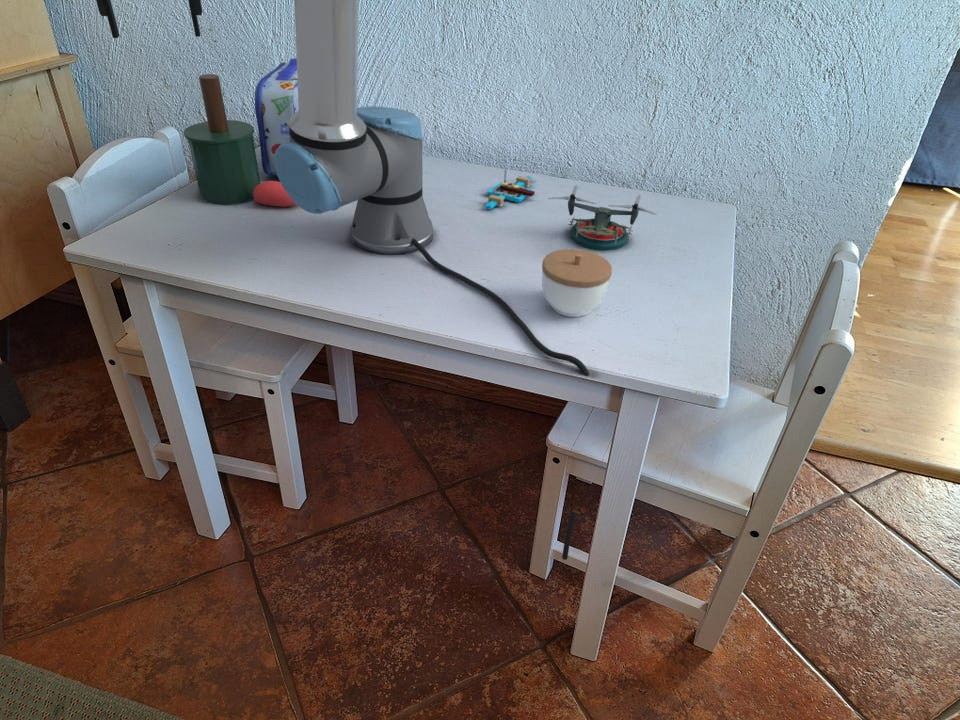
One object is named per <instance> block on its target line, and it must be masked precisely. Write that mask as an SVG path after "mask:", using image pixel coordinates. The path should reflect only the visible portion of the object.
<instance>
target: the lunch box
mask: <svg viewBox="0 0 960 720" xmlns="http://www.w3.org/2000/svg"><path fill="white" fill-rule="evenodd" d="M298 110H299V104H298V79H297V57H294V58H290V59H289V60H288V61H286V62H284V61H283V62H281V63H279V64H278V65H277V66H276V67H275V68H274V69H273V70H271V71H270V72H268V73H267V74H266V75H264V76H263V77H262V78H261V79H259V80H258V82H257V84H256V85H255V91H254V111H255V112H254V113H255V119H256V124H257V131H258V140H259V147H260V158H261V159H260V160H261V167H262V170H263V173H264V174H265V175H266V176H268V177H271V176H277V177H278V175H277V172H276V168H275V161H274V157H275V152H276V150H277V149H278V148H279V146H280V145H281V144H282V143H283V142H288V141H289V140H290V135H289V120H290V118H291V117H292V116H293V115H294V114H295V113H296V112H297V111H298Z"/></svg>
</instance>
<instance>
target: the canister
mask: <svg viewBox="0 0 960 720" xmlns="http://www.w3.org/2000/svg"><path fill="white" fill-rule="evenodd" d="M187 143H188V146H189V147H188V148H189V151H190V155H191V156H190V157H191V161H192V164H193V169H194V174H195V178H196V183H197V185H198V186H197V187H198V191H199V196H200V198H201V199H202V200H203V201H205V202H207V203H210V204H213V205H214V204H215V205H237V204H243V203H246V202H250V201H252V200H255V199H254V196H253V191H254V189H255V187H256V186H257V185H258V184H260V183H262V182H261V177H260V176H261V175H260V172H259V166H258V160H257V154H256V153H257V152H256V148H255V147H256V146H255V139H254V133H253V134H252V135H251V136H250V137H248V138H245V139H242V140H239V141H234V142H228V143H215V144H211V143H199V142H194V141H190V140H188V139H187Z"/></svg>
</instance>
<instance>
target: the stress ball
mask: <svg viewBox="0 0 960 720" xmlns="http://www.w3.org/2000/svg"><path fill="white" fill-rule="evenodd" d="M253 196H254V199H253V200H255V201H256V202H257V203H259V204H260V205H263V206H271V207H282V208H283V207H284V208H285V207H286V208H287V207H294V206H297V204H296V203H295V202H294V201H293V200H292V199H291V198H290V197H289V196H288V194H287V192H286V191H285V190H284V188H283V186H282V184H281V182H280V181H279V180H267V181H266V180H265V181H262V182H261V183H260V184H258V185H257V186H256V187H255V189H254V191H253Z"/></svg>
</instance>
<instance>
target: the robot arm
mask: <svg viewBox="0 0 960 720" xmlns="http://www.w3.org/2000/svg"><path fill="white" fill-rule="evenodd" d="M95 1H96V6H97V9H98V12H99V13H98V14H99V15H100V16H101V17H107V21H108V24H109V29H110V32H111V35H112V39H118V38H119V37H120V30H119V27H118V24H117V20H116V16H115V13H114V8H113V5H112V1H111V0H95ZM293 2H294V27H295V51H296V58H297V79H298V104H299V110H298V111H297V112H296V113H295V114H294V115H293V116H292V117H291V118H290V120H289V135H290V140H289V141H288V142H283V143H282V144H281V145H280V146H279V148H278V149H277V150H276V152H275V157H274V161H275V168H276V172H277V175H278V176H277V175H276V176H277V178H278V181H279V182H281V184H282V186H283V188H284V190H285V191H286V192H287V194H288V196H289V197H290V198H291V199H292V200H293V201H294V202H295V203H296V206H297V207H299V208H300V209H302V210H304V211H305V212H307V213H310V214H314V215H321V214H324V213H327V212H330V211H337V210H339V209H340V208H341V207H343V206H346V205H349V204H351V203H354V202H356V201H357V202H356V206H355V210H354V213H353V214H354V215H353V217H352V222H351V227H350V234H351V235H350V236H351V240H352V242H353V243H354V245H355V246H357V247H359V248H360V249H362V250H365V251H367V252H372V253H376V254H383V255H397V254H398V255H399V254H406V253H411V252H416V251H419V253H421V254H422V255H423V257H424V258H425V259H426V261H427V262H429V264H430V265H432V266H433V267H435V268H436V269H437V270H439V271H440V272H442V273H445V274H447V275H449V276H451V277H453V278H455V279H457V280H459V281H461V282H463V283H464V284H466V285H468V286H469V287H472V288H474V289H475V290H478V291H480V292H481V293H483V294H484V295H487V297H489V298H491V299H492V300H493V301H495V303H497V304H498V305H499V306H500V307H501V308H502V309H503V310H504V311H505V312H506V313H507V314H508V315H509V317H510V318H511V319H512V321H514V323H515V324H516V325H517V326H518V327H519V328H520V329H521V331H522V332H523V333H524V335H525V336H526V338H527V339H528V341H530V343H531V344H532V345H534V347H535V348H536V349H538V350H539V351H540V352H541V353H543V354H544V355H546V356H547V357H550V358H553V359H556V360H561V361H565V362H569V363H571V364H573V365H575V367H576V368H578V369H579V371H580V372H581V374H582V375H583V376H586V377H589V376H590V375H591V374H590V372H589V370H588V368H587V367H586V365H585V364H584V363H583V362H582V361H581V360H580V359H578V358H577V357H576V356H573V355H569V354H567V353H563V352H557V351H553V350H551V349H549V348H548V347H547V346H546V345H544V344H543V343H542V342H541V341H540V340H539V339H538V338H537V337H536V336H535V335H534V333H533V332H532V331H531V329H530V328H529V326H527V324H526V323H525V322H524V321H523V320H522V319H521V317H519V316H518V315H517V313H516V312H515V311H514V310H513V308H511V306H510V305H509V304H508V303H507V302H506V301H505V300H504V299H502V298H501V297H500V296H499V295H497V294H496V293H495V292H493V291H492V290H490V289H489V288H487V287H485V286H483V285H481V284H480V283H478V282H476V281H474V280H472V279H470V278H468V277H466V276H465V275H463V274H461V273H459V272H457V271H455V270H453V269H451V268H448V267H446V266H444V265H443V264H441V263H439V262H438V261H437V260H436V259H434V258H433V256H431V255H430V253H429V252H428V251H427V250H426V249H425V247H426V246H427V245H429V244H430V243H431V242H432V240H433V237H434V228H433V223H432V220H431V218H430V215H429V212H428V210H427V206H426V202H425V199H424V196H423V141H424V137H423V135H422V134H423V133H422V123H421V120H420V119H419V117H418V115H416V114H414V113H413V112H410V111H408V110H405V109H401V108H395V107H387V106H374V105H372V106H370V105H369V106H368V105H367V106H359V107H358V71H359V69H358V67H359V66H358V64H359V10H360V9H359V8H360V5H359V4H360V3H359V2H360V0H293ZM188 6H189V11H190V15H191V22H192V24H193V30H194V35H195V37H196V38H199V37H201V29H200V25H199V19H198V16H202V15H203V5H202V1H201V0H188ZM576 515H577V513H576V512H574V511H572V510H570V512H569V517H568V521H567V526H566V532H565V536H564V537H565V538H564V543H563V547H562V548H563V549H562V556H561V558H562V560H564V561H566V560H568V558H569V552H570V545H571V539H572V534H573V530H574V525H575V520H576Z"/></svg>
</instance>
